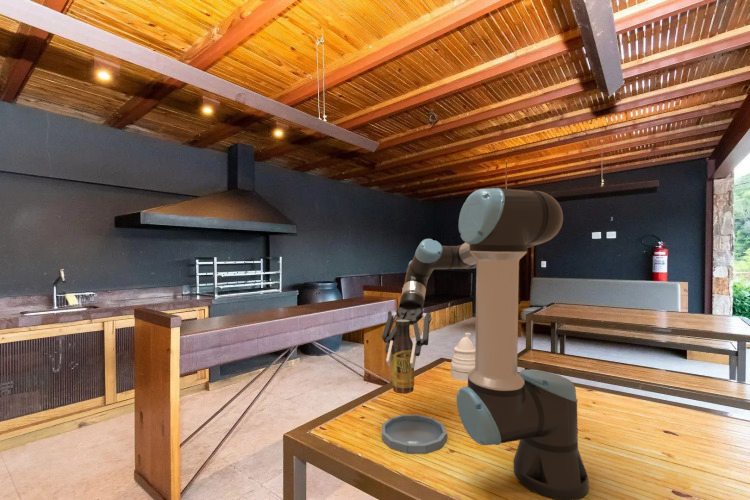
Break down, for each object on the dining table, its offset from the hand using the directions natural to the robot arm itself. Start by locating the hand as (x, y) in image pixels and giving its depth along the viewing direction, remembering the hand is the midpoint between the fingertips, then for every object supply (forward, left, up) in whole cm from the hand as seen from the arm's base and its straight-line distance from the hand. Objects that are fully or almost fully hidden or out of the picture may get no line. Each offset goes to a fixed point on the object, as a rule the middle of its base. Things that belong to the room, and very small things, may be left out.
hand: (400, 364), depth 95 cm
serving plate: (+4, -4, -21) cm, 22 cm away
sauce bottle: (+3, -1, -9) cm, 9 cm away
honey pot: (+54, -31, -21) cm, 65 cm away
